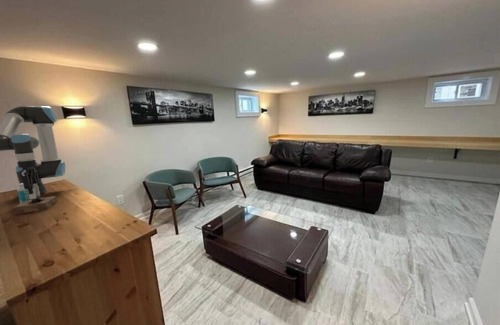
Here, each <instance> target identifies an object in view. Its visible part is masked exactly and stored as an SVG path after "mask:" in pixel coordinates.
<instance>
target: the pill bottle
mask: <svg viewBox="0 0 500 325" xmlns="http://www.w3.org/2000/svg"><path fill="white" fill-rule="evenodd" d="M19 186H20V187H19ZM16 192H17V196H18V200H19V204H21V203H23V202H24V201H26V200H29V199H30V197H29V193H28V189H25V188H24V185H23V183H20V184H19V183H18V187H17V188H16Z"/></svg>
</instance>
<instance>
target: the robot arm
mask: <svg viewBox="0 0 500 325" xmlns="http://www.w3.org/2000/svg"><path fill="white" fill-rule="evenodd" d="M57 121H58V120H57V116H56V113H55V111H54V110H53V108H52V107H51V106H47V105H46V106H44V105H21V106H16V107H14V108H11V109H10V110H8V111H6V112H5V114H4V115H3V120H2V122H1V123H0V152H2V151H3V152H4V151H14V154H15V155H14V157H15V159H16V161H17V162H16V163H17V165H16V166H15V174H16V175H17V180H18V188H19V187H20V186H19V184H20V183H23V185H24V188H25V189H28V193H29V197H30V199H36V194H35V190H34V188H33V184H34V183H37V185H38V190H39V194H40V195H41V194H43V193H46V192H47V191H48V189H47V187H46V185H45V184H44V183H43V181H42V179H47V178H48V179H49V178H57V177H63V176H64V175H65V173H66V163H65V161H63V160H62V158H60V157H59V156H58V151H57V146H56V141H55V135H54V130H53V126H54V125H55V123H56V122H57ZM24 123H32V125H33V126H35V127H36V132H37V136H38V138H36V137H34V136H31V135H30V134H29V133H22V134H21V133H17V132H18V129H19V128H20V126H22V125H23V124H24ZM38 147H40V151H41V157H42V159H41V160H40V163H38V161H36V157H35V153H34V149H36V148H38Z"/></svg>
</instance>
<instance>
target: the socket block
mask: <svg viewBox="0 0 500 325" xmlns="http://www.w3.org/2000/svg"><path fill="white" fill-rule="evenodd" d="M40 198H41V202H37V203H32V201H31V199H29V200H26V201H24V202H23V203H21V204H20V203H19V204H17V205H16V206H14V207H13V209H14V212H15V215H18V214H19V213H20V214H25V213H31V212H39V211H44V210H48V209H50V208H51V207H52V206H53V205H54V204H56V203H57V202H58V200H57V195H52V196H46V197H40Z"/></svg>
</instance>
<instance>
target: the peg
mask: <svg viewBox="0 0 500 325" xmlns="http://www.w3.org/2000/svg"><path fill="white" fill-rule="evenodd" d="M33 188H34V190H35V194H36V199H31V201H32V203H37V202H41V198H42V197H41V194H39V190H38V185H37V183H34V184H33Z"/></svg>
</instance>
